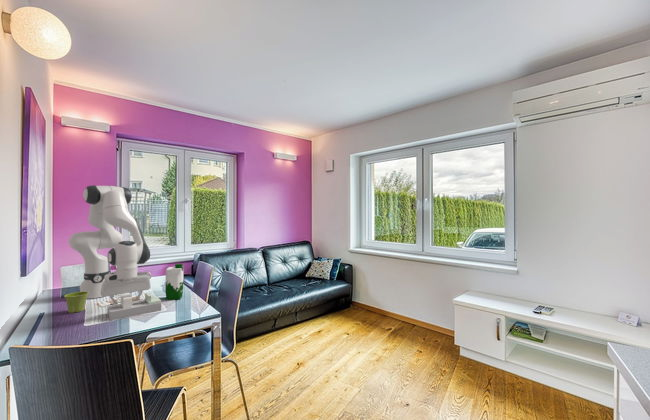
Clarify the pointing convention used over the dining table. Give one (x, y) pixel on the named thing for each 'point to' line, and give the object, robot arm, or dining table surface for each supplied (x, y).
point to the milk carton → (174, 282)
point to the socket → (132, 309)
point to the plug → (126, 301)
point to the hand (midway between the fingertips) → (126, 301)
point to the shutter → (151, 299)
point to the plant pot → (76, 301)
